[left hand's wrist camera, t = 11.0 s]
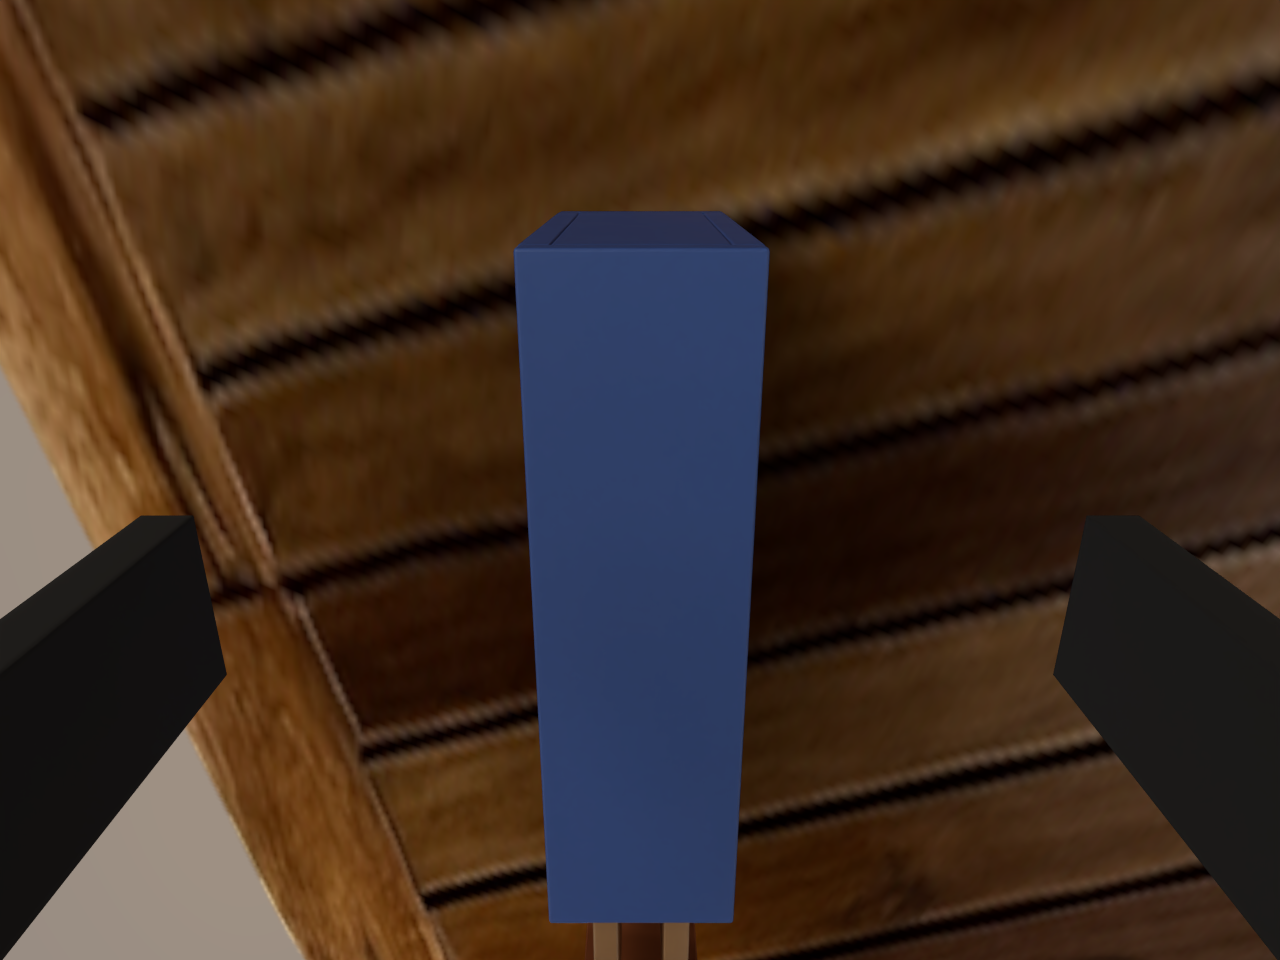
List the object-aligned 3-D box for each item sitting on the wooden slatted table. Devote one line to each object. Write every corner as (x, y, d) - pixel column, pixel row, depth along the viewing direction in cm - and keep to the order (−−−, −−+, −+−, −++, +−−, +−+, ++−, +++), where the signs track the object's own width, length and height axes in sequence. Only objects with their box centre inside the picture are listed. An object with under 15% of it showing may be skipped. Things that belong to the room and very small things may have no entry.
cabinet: (706, 696, 35) (733, 924, 25) (575, 696, 35) (549, 924, 25) (722, 211, 28) (770, 248, 18) (559, 211, 28) (512, 248, 18)
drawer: (685, 963, 39) (698, 1193, 31) (595, 963, 39) (583, 1193, 31) (699, 480, 31) (722, 611, 22) (582, 480, 31) (560, 611, 22)
